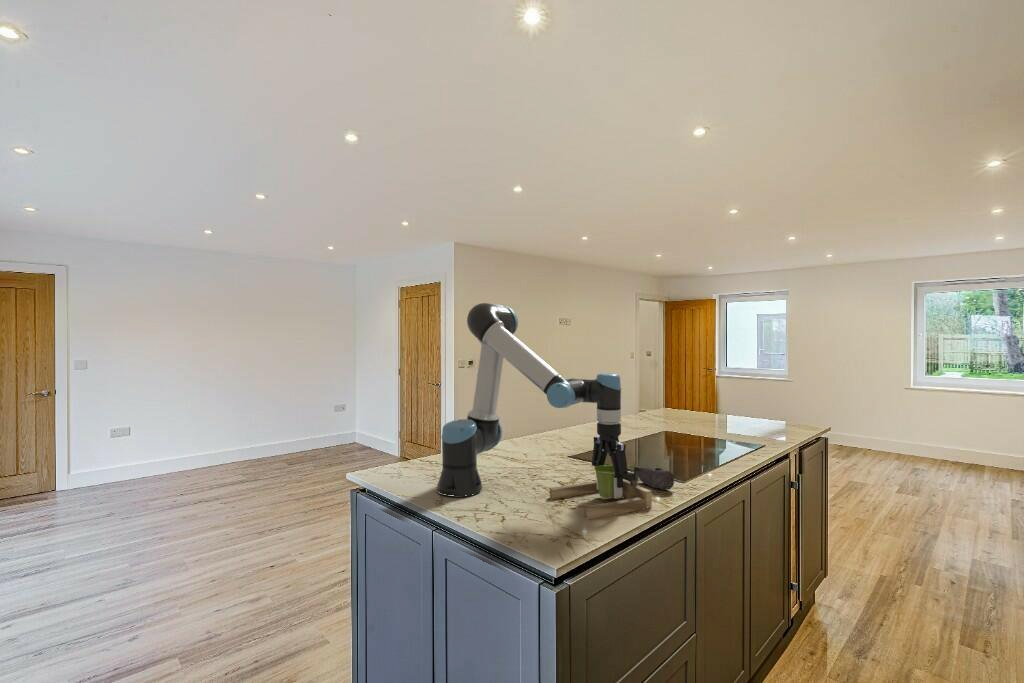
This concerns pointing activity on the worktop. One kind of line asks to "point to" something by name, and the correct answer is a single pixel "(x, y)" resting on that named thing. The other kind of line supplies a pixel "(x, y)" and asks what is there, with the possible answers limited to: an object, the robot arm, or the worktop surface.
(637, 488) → the bay
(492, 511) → the worktop surface
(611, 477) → the plant pot
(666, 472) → the perforated stone tool
